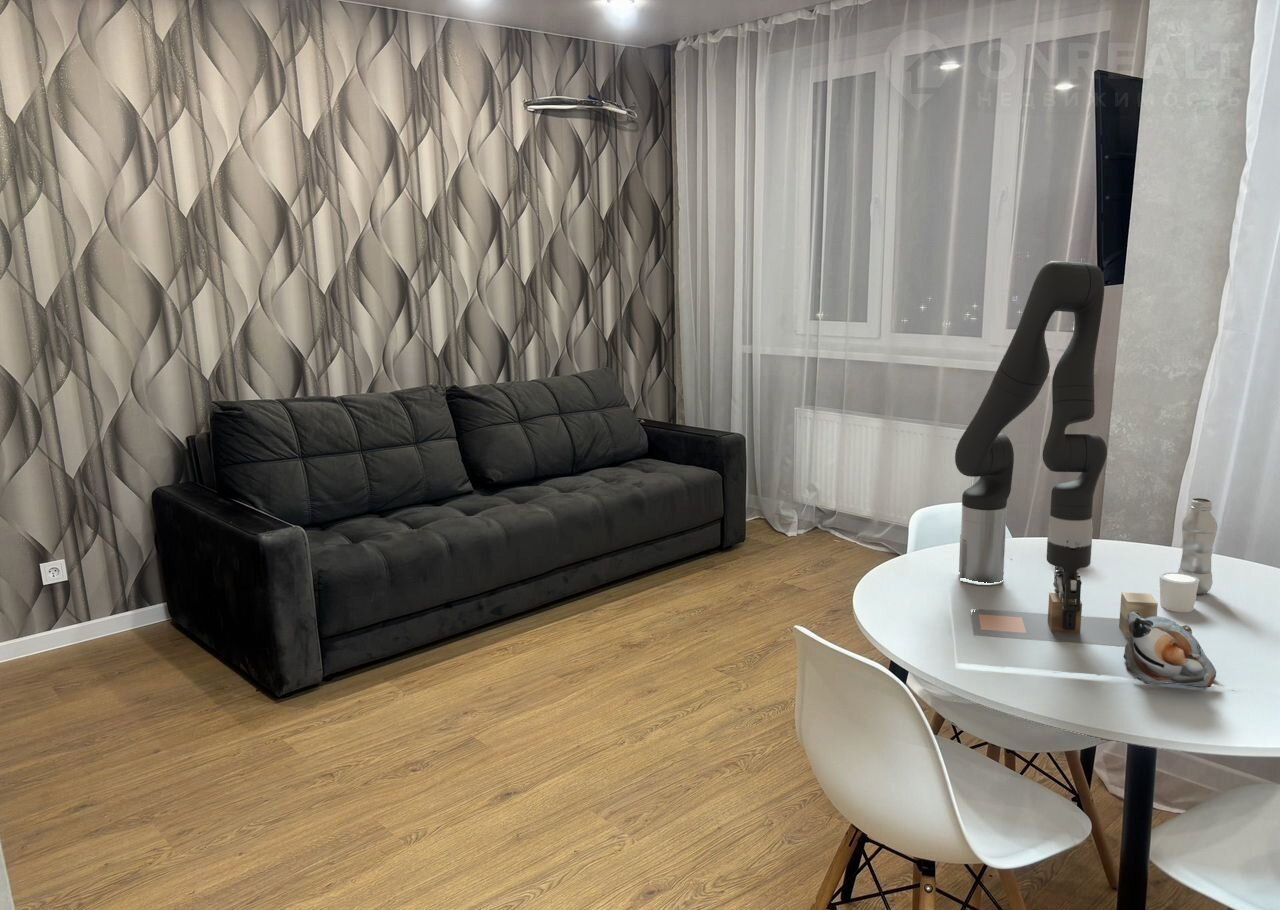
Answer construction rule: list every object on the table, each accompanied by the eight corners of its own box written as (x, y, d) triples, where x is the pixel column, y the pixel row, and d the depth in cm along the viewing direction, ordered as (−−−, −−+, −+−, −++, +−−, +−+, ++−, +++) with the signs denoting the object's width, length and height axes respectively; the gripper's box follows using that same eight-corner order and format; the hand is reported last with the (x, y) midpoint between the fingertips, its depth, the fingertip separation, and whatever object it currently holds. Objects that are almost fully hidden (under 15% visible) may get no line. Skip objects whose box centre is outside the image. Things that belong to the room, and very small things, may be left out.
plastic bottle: (1201, 586, 193) (1209, 495, 189) (1218, 597, 186) (1226, 504, 182) (1169, 586, 193) (1177, 496, 190) (1185, 597, 187) (1193, 504, 183)
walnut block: (1051, 631, 170) (1052, 601, 169) (1047, 621, 175) (1049, 592, 174) (1080, 633, 169) (1082, 603, 168) (1075, 623, 174) (1077, 594, 172)
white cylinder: (1162, 601, 185) (1165, 569, 184) (1200, 609, 180) (1204, 576, 179) (1152, 611, 180) (1154, 578, 179) (1190, 619, 176) (1193, 585, 174)
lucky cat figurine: (1235, 685, 148) (1239, 629, 140) (1177, 721, 147) (1178, 667, 139) (1158, 630, 161) (1159, 576, 153) (1104, 663, 159) (1102, 610, 151)
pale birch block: (1124, 637, 167) (1127, 601, 165) (1118, 627, 171) (1121, 592, 170) (1154, 639, 165) (1157, 603, 164) (1148, 629, 170) (1151, 593, 168)
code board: (973, 639, 170) (973, 634, 170) (969, 612, 183) (969, 608, 183) (1170, 654, 161) (1170, 649, 161) (1151, 624, 174) (1151, 620, 174)
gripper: (1042, 528, 176) (1038, 606, 179) (1053, 549, 163) (1048, 633, 166) (1084, 529, 174) (1080, 609, 177) (1099, 551, 161) (1093, 637, 164)
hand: (1064, 620), depth 172 cm, fingers open, 8 cm apart
